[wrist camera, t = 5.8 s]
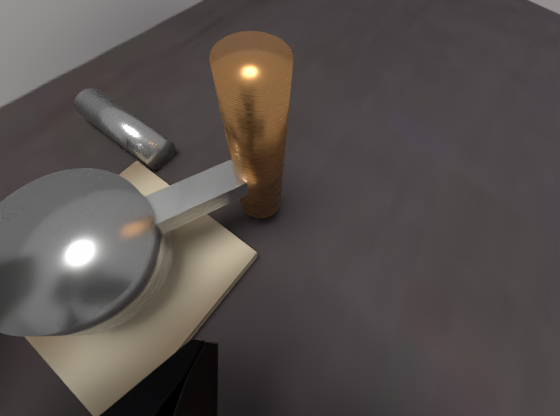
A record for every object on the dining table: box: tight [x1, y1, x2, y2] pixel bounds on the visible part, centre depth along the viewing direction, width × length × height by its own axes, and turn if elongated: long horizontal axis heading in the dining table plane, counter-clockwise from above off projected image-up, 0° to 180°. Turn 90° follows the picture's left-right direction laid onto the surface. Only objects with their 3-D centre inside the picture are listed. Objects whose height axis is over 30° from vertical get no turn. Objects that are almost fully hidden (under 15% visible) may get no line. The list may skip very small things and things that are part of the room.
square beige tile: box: [25, 161, 258, 416], centre depth 15 cm, size 11×11×3 cm
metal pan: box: [0, 31, 293, 337], centre depth 11 cm, size 14×7×10 cm, turn 120°
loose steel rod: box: [75, 89, 175, 170], centre depth 20 cm, size 8×2×2 cm
